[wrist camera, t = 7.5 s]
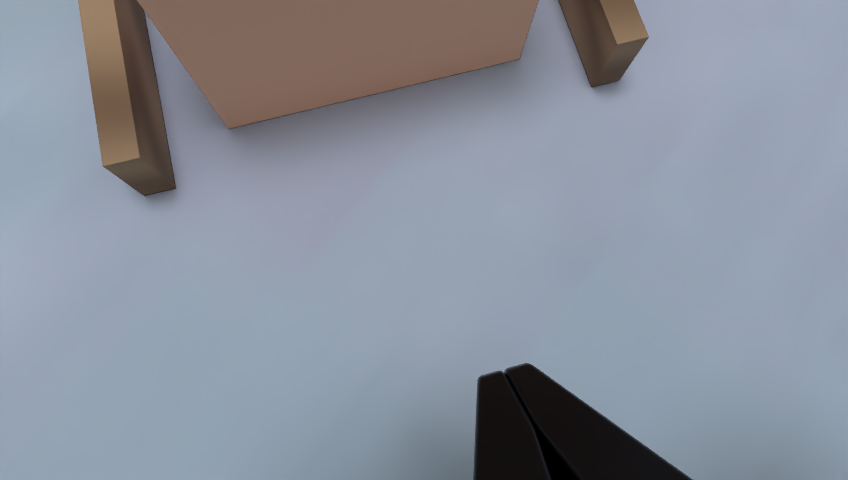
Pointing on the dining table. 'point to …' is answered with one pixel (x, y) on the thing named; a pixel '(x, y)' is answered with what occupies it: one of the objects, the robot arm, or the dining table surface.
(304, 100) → the t block
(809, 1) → the dining table surface
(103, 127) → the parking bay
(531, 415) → the robot arm
